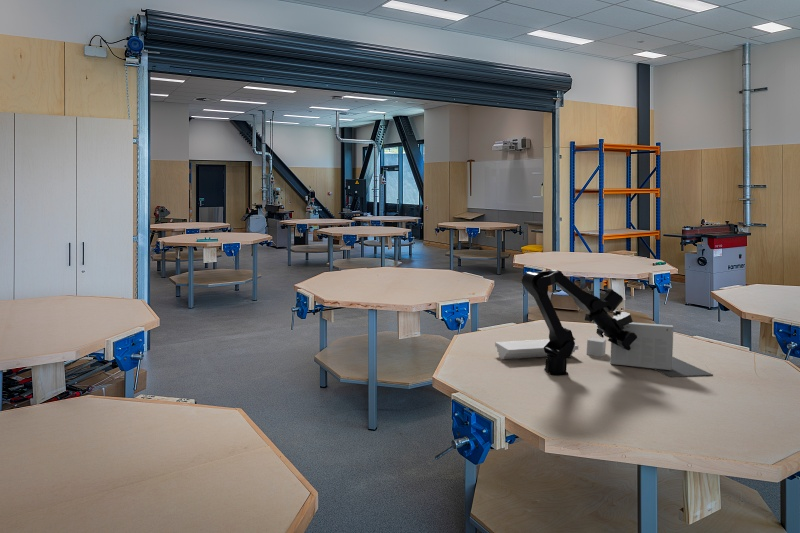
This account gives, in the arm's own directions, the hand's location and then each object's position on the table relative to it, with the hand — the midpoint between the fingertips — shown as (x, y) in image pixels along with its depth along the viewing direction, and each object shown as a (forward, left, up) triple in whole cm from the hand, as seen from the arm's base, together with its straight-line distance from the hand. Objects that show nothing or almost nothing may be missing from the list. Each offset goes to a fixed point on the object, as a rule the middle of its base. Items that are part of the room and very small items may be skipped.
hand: (629, 349), depth 209 cm
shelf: (+29, -17, -7) cm, 34 cm away
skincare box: (-5, 0, -7) cm, 8 cm away
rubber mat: (-17, 0, -7) cm, 18 cm away
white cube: (+3, -18, -7) cm, 20 cm away
